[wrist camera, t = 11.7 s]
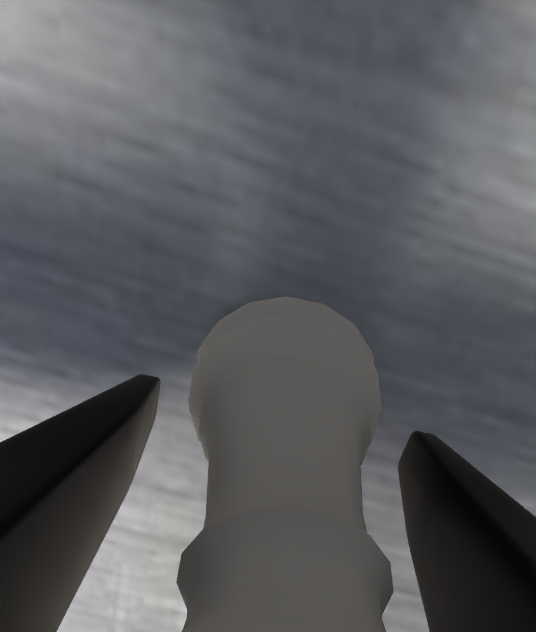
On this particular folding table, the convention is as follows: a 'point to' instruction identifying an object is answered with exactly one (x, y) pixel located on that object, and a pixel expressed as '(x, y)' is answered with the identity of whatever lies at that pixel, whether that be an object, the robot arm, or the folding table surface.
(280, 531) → the rook chess piece
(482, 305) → the folding table surface
